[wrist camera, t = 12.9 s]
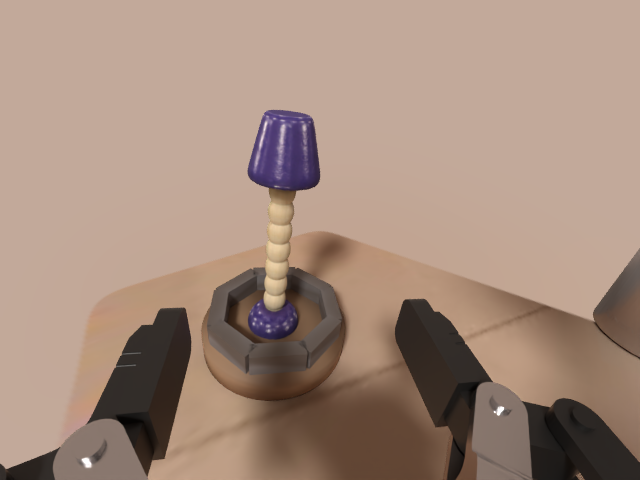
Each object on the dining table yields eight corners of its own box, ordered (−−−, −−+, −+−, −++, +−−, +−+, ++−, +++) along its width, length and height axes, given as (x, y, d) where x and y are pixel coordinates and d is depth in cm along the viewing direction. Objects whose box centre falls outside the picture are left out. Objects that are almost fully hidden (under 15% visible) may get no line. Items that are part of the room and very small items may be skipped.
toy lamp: (278, 295, 29) (286, 105, 21) (316, 320, 27) (341, 117, 18) (237, 321, 26) (227, 107, 17) (275, 352, 23) (284, 122, 15)
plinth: (328, 290, 33) (332, 262, 31) (357, 392, 23) (365, 359, 21) (214, 293, 31) (211, 263, 29) (190, 408, 21) (183, 373, 19)
